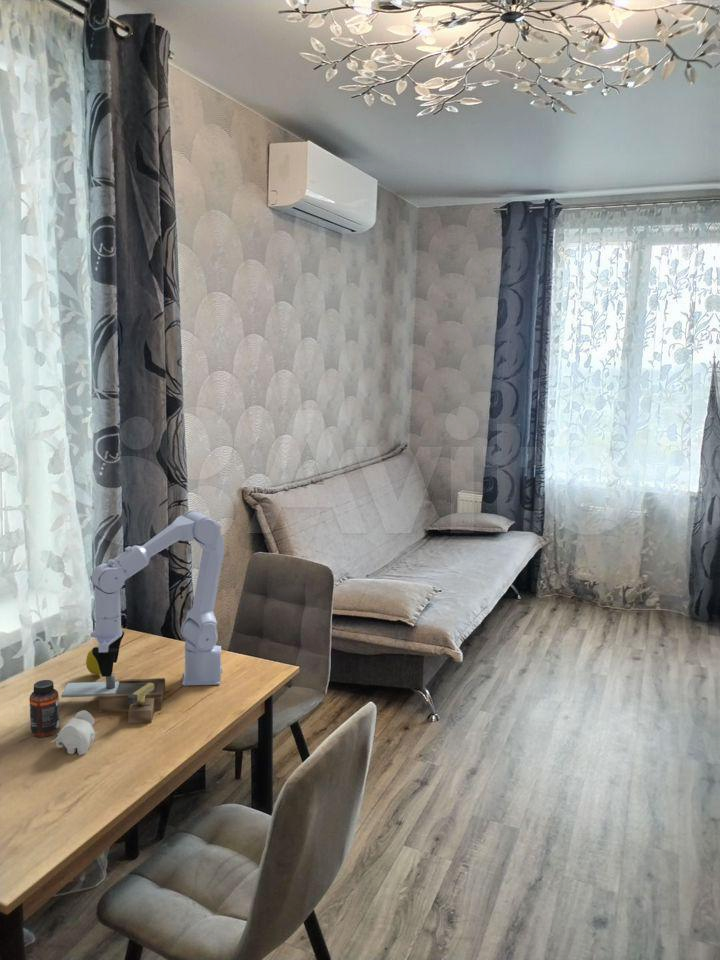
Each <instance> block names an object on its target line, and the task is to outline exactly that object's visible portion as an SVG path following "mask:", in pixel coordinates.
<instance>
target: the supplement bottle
mask: <svg viewBox="0 0 720 960" xmlns="http://www.w3.org/2000/svg"><path fill="white" fill-rule="evenodd" d="M54 687H55V685H54V681H53V680H51V679H41V680H39V681H36V682H35V683H34V684H33V691H32V692H31V694H30V695H29V721H30V733H31V734H32V735H33V736H35V737H39V738H42V737H44V738H45V737H49V736H52V735H54V734H57V733H58V731H60V728H61V727H60V725H61V722H60V721H61V720H60V699H59V696H60V695H59V692H58V690H57V689H55V688H54Z"/></svg>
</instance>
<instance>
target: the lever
mask: <svg viewBox="0 0 720 960" xmlns="http://www.w3.org/2000/svg"><path fill="white" fill-rule="evenodd" d="M153 690H154V684H153V683H148V684H146V685H145V686H143V687H142V688H140V689H139V690H137V691H136V692H134V693H133V694H131V695H129V696H128V697H127V703H129V704H134V703H136V702H137V701H138V706H144V705H145V695H147V694H148V693H150V692H151V691H153Z"/></svg>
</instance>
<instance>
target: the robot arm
mask: <svg viewBox="0 0 720 960" xmlns="http://www.w3.org/2000/svg"><path fill="white" fill-rule="evenodd" d="M221 530H222V526H221V524H219V523H218V521H217V520H216V519H214V518H212V517H211V516H208V515H205V514H203V513H200V512H199V511H197V510H193V509H192V510H188V511H186V512H184V514H182V515H179V516H177V517H176V518H175V520H173V522H172V523H170V524H169V525H167V527H165V528H164V529H163V530H161V531H160V532H158V533H157V534H156V535H155V536H153V537H152V538H151V539H149V540H148V541H147V542H145V543H144V544H142V545H136V544H135V545H134V544H133V546H130V545H129V546H127V547H125V548H124V550H125V551H123V552H122V553H120V554H119V555H117V556H115V557H114V558H113V559H112V558H110V559H108V560H107V563H101V564H99V565H97V566H96V567H95V568H94V569H93V571H92V572H91V575H90V577H89V579H90V581H91V583H92V584H93V585H94V613H95V615H94V617H95V618H94V620H95V630H94V631H91V633H90V635H89V636H90V637H91V638H95V639H96V642H97V643H98V644H97V645H98V647H97V646H94V647H93V648H92V649H91V650H92V654H93V655H94V657H95V658H96V660H97V662H98V665H99V669H100V672H101V674H100V675H101V677H105V678H106V677H108V676H111V675H112V673H113V669H114V663H117V662H118V658H119V652H120V647H121V642H122V640H123V639H124V636H125V631H124V630H122V613H121V609H122V608H121V607H122V606H121V590H122V588H123V587H124V583H125V582H126V581H127V580H128V579H130V578H131V577H132V576H134V575H135V574H136V573H138V572H140V571H141V570H142V569H144V568H146V567H147V566H148V565H149V563H150V560H151V557H153V556H155V555H156V554H159V552H161V551H163V550H164V549H166V548H168V547H169V546H170V547H171V545H173V544H174V543H177V542H178V541H185V542H186V541H187V542H194V541H195V542H196V543H197V545H199V547H200V548H201V557H200V562H199V569H198V574H197V580H196V585H195V591H194V595H193V596H194V597H193V603H192V608H191V609H190V610H188V611H187V613H186V617H185V619H184V621H183V623H182V624H181V627H180V634H181V636H182V637H183V638H184V639H185V640H184V673H183V678H182V686H210V685H211V686H212V685H213V686H214V685H221V677H222V675H223V666H222V646H221V645H216V644H217V642H218V638H219V634H218V631H217V628H218V627H217V626H218V621H217V619H216V618H217V617H216V616H215V614H214V612H215V611H214V609H215V605H216V600H217V595H218V594H217V593H218V588H219V581H220V577H221V576H220V575H221V572H222V565H223V560H224V553H225V549H226V548H225V547H226V544H225V541H224V538H223V534H222V532H221Z"/></svg>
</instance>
